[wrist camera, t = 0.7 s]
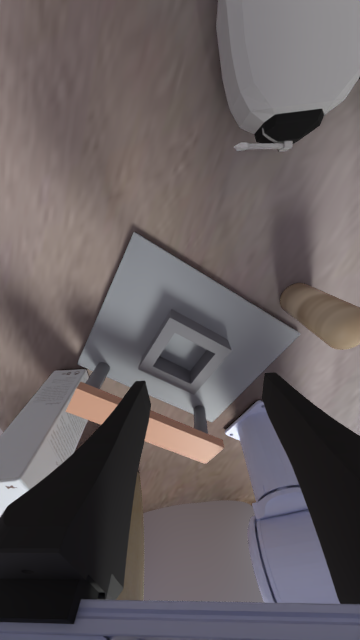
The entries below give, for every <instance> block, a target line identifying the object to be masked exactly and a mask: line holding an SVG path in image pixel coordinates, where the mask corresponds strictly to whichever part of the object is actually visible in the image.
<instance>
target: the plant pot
mask: <svg viewBox="0 0 360 640" xmlns="http://www.w3.org/2000/svg"><path fill="white" fill-rule="evenodd" d="M143 593H144V526H143V506H142V493H141V483H140V475H139V472H137V479H136V485H135V492H134V499H133V507H132V514H131V523H130V531H129V539H128V548H127V558H126V568H125V577H124V588H123V590H122V592H121V593H120V595H119V596H118V598H117V599H116V600H143Z"/></svg>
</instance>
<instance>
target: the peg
mask: <svg viewBox="0 0 360 640" xmlns="http://www.w3.org/2000/svg"><path fill="white" fill-rule="evenodd" d="M280 305H281V307H282V308H283V310H285V311H286V312H287V313H289V314H290V315H291V316H292V317H294V318H295V319H296V320H297V321H299V322H300V323H301V324H302V325H304V326H305V327H306V328H308V329H309V330H310V331H311V332H313V333H314V334H315V335H316V336H318V337H319V338H320V339H321V340H323V341H324V342H325V343H326V344H328V345H329V346H330V347H332V348H334V349H340V350H344V349H349V348H353V347H355V346H357V345H359V344H360V307H357V306H355V305H353V304H350V303H348V302H346V301H343V300H341V299H339V298H337V297H334V296H332V295H330V294H327V293H325V292H323V291H321V290H318V289H316V288H314V287H311V286H309V285H307V284H304V283H295V284H293V285H290V286H289V287H287V288H286V289H285V290H284V291H283V293H282V295H281V297H280Z"/></svg>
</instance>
